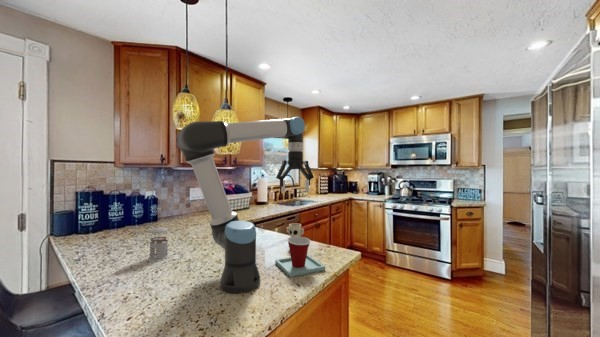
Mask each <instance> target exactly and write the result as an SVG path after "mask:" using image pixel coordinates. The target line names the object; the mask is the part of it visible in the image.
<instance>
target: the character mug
mask: <svg viewBox="0 0 600 337" xmlns="http://www.w3.org/2000/svg"><path fill="white" fill-rule="evenodd" d="M286 233H288V235H289V237H302V235H305V229H304V228H302V224H301V223H297V222H296V223H289V224H288V226H286Z"/></svg>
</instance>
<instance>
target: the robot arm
mask: <svg viewBox="0 0 600 337" xmlns="http://www.w3.org/2000/svg"><path fill="white" fill-rule="evenodd" d="M305 129H306V124H305V121H304V119H303V118H302V117H300V116H292V117H291V118H282V119H281V118H278V119H269V120H268V119H266V120H252V121H241V122H229V123H228V122H227V123H226V122H225V121H223V120H218V121H215V120H214V121H210V120H209V121H208V120H206V121H204V120H203V121H202V120H201V121H199V120H198V121H191V122H190V123H188V124H187V125H186V126H184V127H183V128H181V129H180V130H179V132H178V134H177V136H176V144H177V148H178V149H179V150H180V152H182V155H183V157H184V160H185V163H187V164H189V165H190V166H191V167H192V169H193V170H192V171H193V173H194V175H195V177H196V181H197V183H198V185H199V188H200V192H201V194H202V196H203V199H204V202H205V204H206V206H207V209H208V212H209V214H210V217H211V220H210V221H209V226H210V228H211V234H212V238H213V240H214V242H215V243H216V244H217V245H218V246H220V247H221V248H222V249H223V250H224V267H223V271H222V274H221V277H220V279H219V289H220V290H221V291H223V292H224V293H228V294H233V295H234V294H236V295H237V294H243V293H247V292H248V293H249V292H251V291H253V290H255V289H257V288H259V286H260V285H261V275H260V272H259V269H258V266H257V260H256V258H257V229H256V225H255V224H254V223H253V222H251V221H246V220H240V219H239V216H238V213H237V212H236V211H234V210H232V207H231V205H230V202H229V200H228V197H227V194H226V191H225V189H224V185H223V183H222V180H221V177H220V175H219V172H218V169H217V166H216V163H215V160H214V156H215V155H216V151H215V149H218V148H219V149H220V148H224V147H227V146H228V145H229V144H234V143H244V142H252V141H258V140H259V141H260V140H266V139H284V140H287V142H288V144H287V146H288V148H287V150H288V151H287V153H288V154H287V159H288V160H286V159H285V160H282V162H281V166H280V169H279V170H278V172H277V174H276V177H275V178H276V179H277V180H279V187H281V194H285V193H286V180H285V178H286V177H287V175H288V174H289V173H290V172H291V170H299V171H300V172H301V174H302V175H303V176H304V178H305V184H304V187H305V189H304V190H305V193H309V192H310V186H311V180H312V179H314V177H315V176H314V175H313V172H312V169H311V167H310V165H309V164H310V163H309V161H308V160H304V159H303V158H304V152H303V150H304V148H303V147H304V145H303V144H304V132H305ZM287 165H288V167H287V168H286V166H287ZM285 168H286V169H285Z"/></svg>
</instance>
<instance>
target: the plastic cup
mask: <svg viewBox="0 0 600 337" xmlns="http://www.w3.org/2000/svg"><path fill="white" fill-rule="evenodd" d="M311 242H312V241H311V239H310V238H308V237H303V236H299V237H291V236H289V237H288V238H287V244H288V247H289V248H288V249H289V255H290V256H289V257H291V261H292V266H293V267H295V268H302V267H304V266H305V262H306V257H307V254H308V252H309V247H310V243H311Z"/></svg>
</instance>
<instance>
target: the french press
mask: <svg viewBox="0 0 600 337" xmlns="http://www.w3.org/2000/svg"><path fill="white" fill-rule="evenodd" d="M161 210H162V208H160V207H157V209H156V211H157V212H160V211H161ZM168 230H169V228H166V227H164V226H163V227H162V226H157V227H155V228H152V229H151V230H150V231H149V233H151V236H150V237H151V238H150V242H149V257H148V258H147V259H148V260H151V261H150V262H159V261H158V260H161V261H164V260H163V259H165V258H167V257H169V256H170V254H168V249H169V247H168V246H169V245H168V244H169V242H168V237H167V236H157V235H159V234H162V233H166V232H168ZM153 235H154V237H153ZM169 258H170V257H169ZM167 259H168V258H167ZM148 260H147V261H148ZM165 260H166V259H165Z"/></svg>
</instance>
